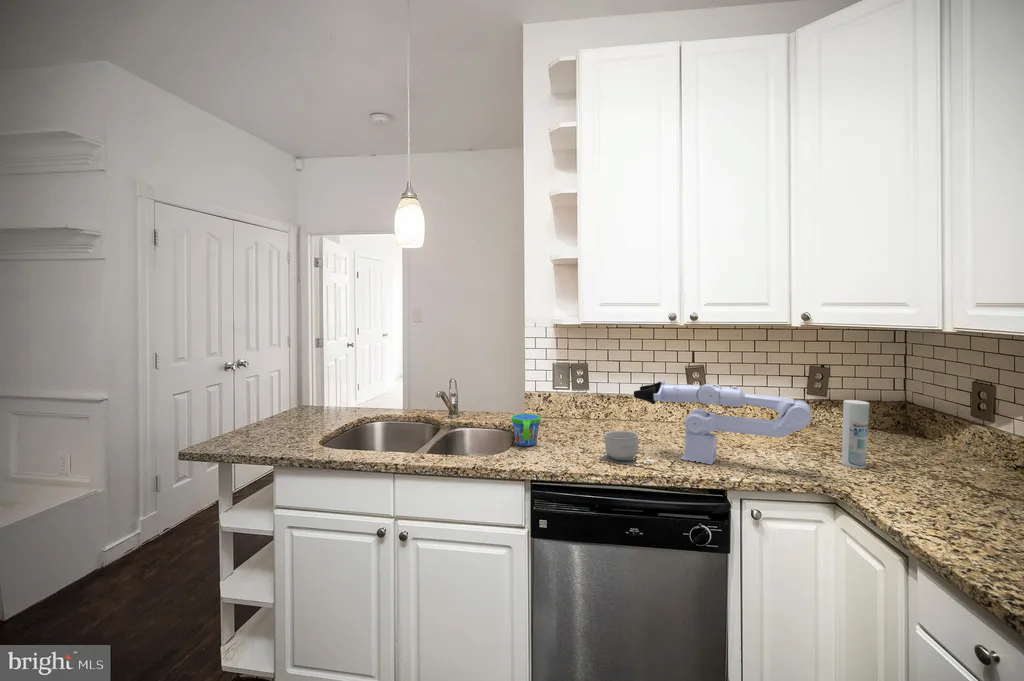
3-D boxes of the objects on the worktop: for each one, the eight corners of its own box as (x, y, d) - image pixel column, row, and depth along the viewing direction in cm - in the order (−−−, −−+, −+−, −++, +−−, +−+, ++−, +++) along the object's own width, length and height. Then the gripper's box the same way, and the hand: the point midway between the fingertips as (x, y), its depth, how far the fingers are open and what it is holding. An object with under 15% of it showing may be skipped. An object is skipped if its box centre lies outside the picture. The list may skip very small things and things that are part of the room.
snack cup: (514, 438, 179) (514, 411, 179) (541, 439, 178) (541, 412, 177) (509, 450, 164) (509, 421, 163) (539, 451, 163) (539, 421, 162)
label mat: (676, 460, 152) (676, 459, 152) (663, 471, 141) (663, 470, 141) (614, 449, 164) (614, 449, 164) (598, 459, 153) (598, 458, 153)
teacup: (624, 465, 146) (624, 439, 146) (597, 457, 155) (597, 433, 154) (650, 456, 155) (650, 432, 155) (623, 449, 164) (623, 426, 163)
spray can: (856, 462, 150) (859, 399, 149) (871, 468, 144) (874, 403, 143) (836, 462, 150) (838, 399, 149) (850, 468, 144) (853, 403, 143)
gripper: (681, 377, 161) (642, 376, 168) (673, 385, 149) (630, 384, 156) (682, 397, 162) (643, 396, 169) (674, 407, 149) (631, 405, 156)
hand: (637, 391), depth 162 cm, fingers open, 7 cm apart
